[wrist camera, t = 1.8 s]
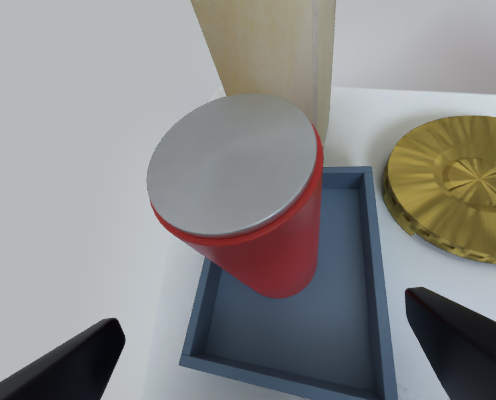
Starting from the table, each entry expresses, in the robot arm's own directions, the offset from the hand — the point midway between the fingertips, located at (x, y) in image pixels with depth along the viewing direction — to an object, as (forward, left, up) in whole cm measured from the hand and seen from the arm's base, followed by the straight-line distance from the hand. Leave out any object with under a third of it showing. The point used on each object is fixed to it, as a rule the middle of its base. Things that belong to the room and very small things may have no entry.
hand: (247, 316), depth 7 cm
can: (+5, +1, -11) cm, 12 cm away
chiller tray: (+4, 0, -12) cm, 12 cm away
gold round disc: (+12, -13, -12) cm, 21 cm away
